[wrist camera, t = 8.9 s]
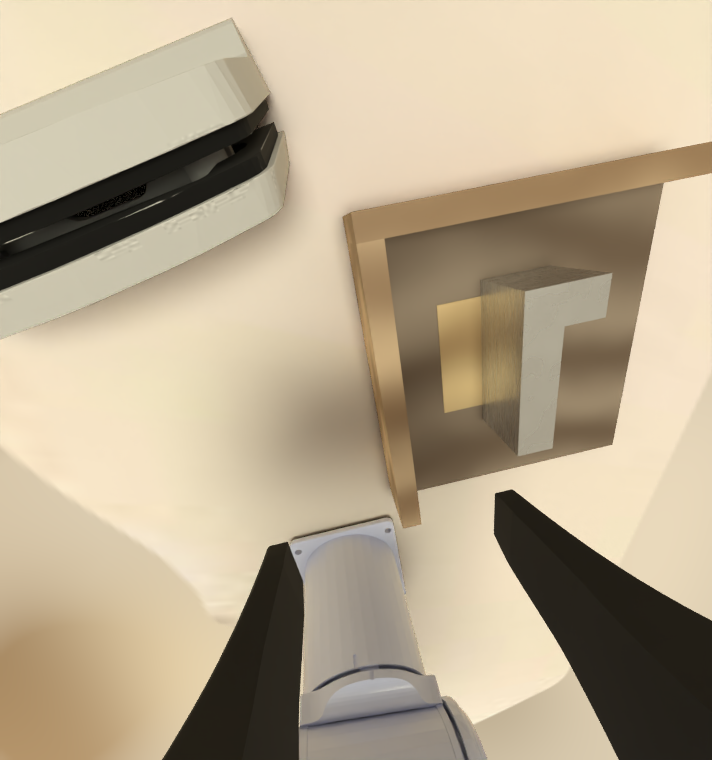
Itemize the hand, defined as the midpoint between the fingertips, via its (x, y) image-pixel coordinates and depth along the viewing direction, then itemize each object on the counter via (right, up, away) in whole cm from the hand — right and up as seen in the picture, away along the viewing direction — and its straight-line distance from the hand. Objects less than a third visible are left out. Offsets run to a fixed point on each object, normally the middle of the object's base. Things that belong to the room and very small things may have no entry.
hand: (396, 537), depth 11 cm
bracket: (+7, +7, +8) cm, 13 cm away
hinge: (-12, +14, +4) cm, 19 cm away
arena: (+8, +7, +10) cm, 14 cm away
